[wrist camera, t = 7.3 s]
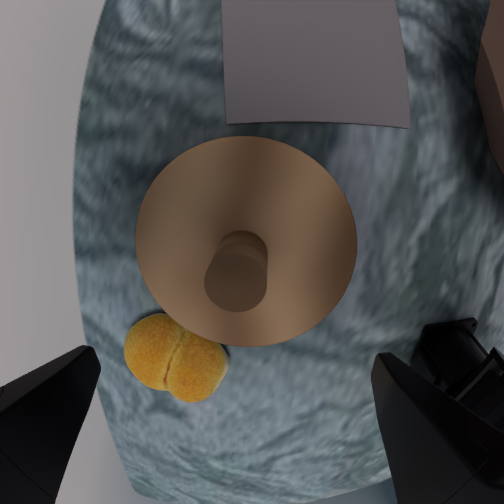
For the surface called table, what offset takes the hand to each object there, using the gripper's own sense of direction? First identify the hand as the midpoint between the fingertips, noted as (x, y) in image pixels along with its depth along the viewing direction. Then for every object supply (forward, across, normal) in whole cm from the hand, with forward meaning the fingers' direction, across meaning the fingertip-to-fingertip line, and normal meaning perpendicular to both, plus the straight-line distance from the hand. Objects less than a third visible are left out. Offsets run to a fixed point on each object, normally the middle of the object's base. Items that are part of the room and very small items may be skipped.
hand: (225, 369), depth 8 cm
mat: (+13, -5, -14) cm, 19 cm away
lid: (+9, 0, -1) cm, 9 cm away
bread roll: (+13, +7, +10) cm, 18 cm away
